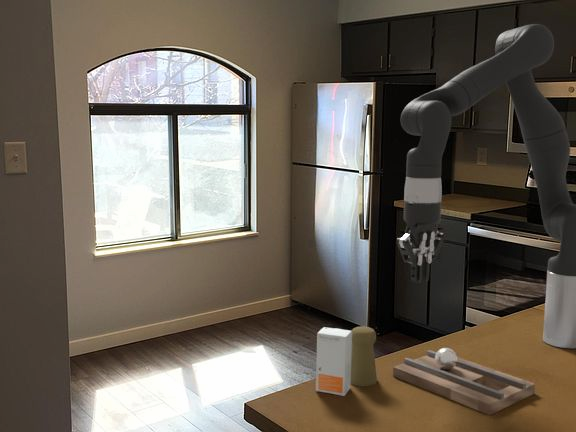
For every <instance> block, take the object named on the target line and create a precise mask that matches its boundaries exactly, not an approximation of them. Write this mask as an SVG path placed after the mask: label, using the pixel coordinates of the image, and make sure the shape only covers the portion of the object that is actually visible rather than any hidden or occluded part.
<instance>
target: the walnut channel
mask: <svg viewBox="0 0 576 432" xmlns="http://www.w3.org/2000/svg"><path fill="white" fill-rule="evenodd" d="M438 351H439V350H437V351H434V350H432V349H428V350H426V355H424V356H421V357H418V358H414V359H412V358H409V357H405V358H403V363H401V364H398V365H395V366H393V368H392V376H393V377H395V378H397V379H400V380H402V381H405V382H406V383H409V384H412V385H414V386H417V387H419V388H421V389H424V390H427V391H429V392H431V393H434V394H437V395H439V396H441V397H445V398H447V399H448V400H451V401H454V402H456V403H459V404H461V405H463V406H466V407H469V408H471V409H474V410H476V411H479V412H480V413H483V414H485V415H488V416H491V415H493V414H494V413H497V412H499V411H501V410H503V409H506V408H507V407H511V406H512V405H514V404H516V403H518V402H520V401H522V400H524V399H526V398H529V397H530V396H532V395H534V394H535V391H536V383H534V382H531V381H529V380H525V379H524V378H523V379H522V378H520V377H517V376H514V375H511V374H509V373H505V372H502V371H499V370H496V369H493V368H491V367H488V366H485V365H481V364H479V363H475V362H473V361H469V360H466V359H464V358H461V357H459V356H457V363H456V365H455V366H454V367H453V368H452V369H449V370H444V369H441V368H440V367H439V366H438V365H437V364H436V361H435V355H436V353H437V352H438Z"/></svg>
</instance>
